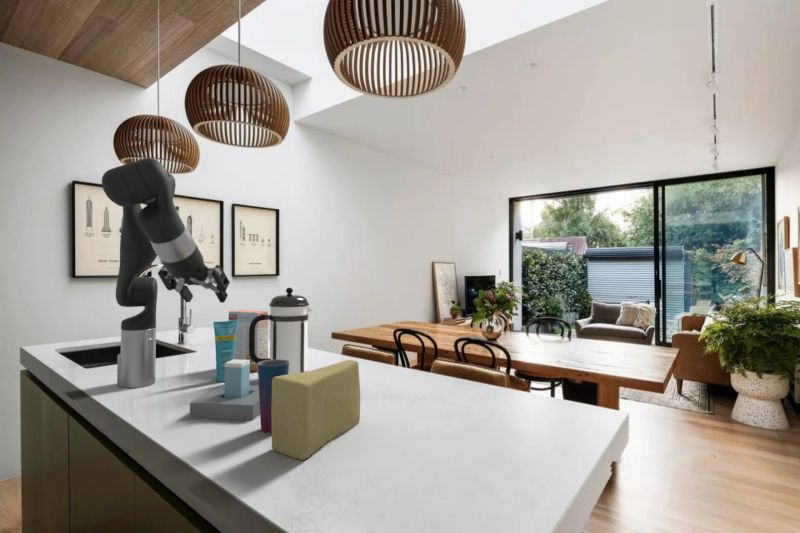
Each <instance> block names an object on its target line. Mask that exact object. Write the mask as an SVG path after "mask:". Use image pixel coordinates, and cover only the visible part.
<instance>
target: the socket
mask: <svg viewBox="0 0 800 533" xmlns="http://www.w3.org/2000/svg"><path fill="white" fill-rule="evenodd" d="M224 387H225V384H222V385H220V386H219V387H216V388H215V389H213V390H211V391H210V392H207V393H205V394H204V395H201V396H200V397H198V398H196V399H194V400H192V401H191V402H189V418H201V419H202V418H203V419H223V420H225V419H226V420H230V419H231V420H244V421H245V420H246V421H247V420H248V421H249V420H250V421H254V420H255V419H256V418H257V417H258V416H260V400H259V385H250V390H249V395H248V396H246V397H245V398H224ZM253 419H254V420H253Z"/></svg>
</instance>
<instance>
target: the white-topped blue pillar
mask: <svg viewBox="0 0 800 533" xmlns="http://www.w3.org/2000/svg"><path fill="white" fill-rule="evenodd" d="M250 372H251V371H250V360H238V359H233V360H231V361H229V362H226V363H225V382H224V385H225V387H224V398H245V397H246V396H248V395H249V390H250V386H251V384H250V383H251V382H250V377H251V376H250V374H251V373H250Z"/></svg>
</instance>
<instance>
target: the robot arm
mask: <svg viewBox="0 0 800 533" xmlns="http://www.w3.org/2000/svg"><path fill="white" fill-rule="evenodd" d="M101 187H102V190H103V192H104V194H105V195H106V197H107V198H108V199H109V200H110V201H111V202H112V203H114V204H116V205H117V206H119V207H122V222H121V224H122V225H121V231H120V239H119V240H120V241H119V268H118V274H117V275H118V276H117V281H116V286H115V300H116V303H117V304H118V305H119V306H120V307H123V308H138V307H143V308H144V309H143V310H142V311H141V312H140V313H137V314H136V315H133V316H130V317H127V318H125V319H123V320H122V321H121V322H120V353H118V354H117V356H116V357H117V358H116V359H117V365H116V366H117V367H116V368H117V369H116V371H117V372H116V373H117V374H116V377H117V379H116V386H118V387H121V388H124V389H125V388H126V389H131V388H141V387H142V388H143V387H146V386H150V385H153V384H155V383H156V361H157V360H156V359H157V358H156V356H157V355H156V354H157V353H156V351H157V347H156V346H157V342H156V341H157V338H156V337H157V304H158V303H157V300H158V291H159V289H158V288H159V287H158V281H157V279H156V278H155V277H153V276H152V277H151V276H137V275H139V274H140V273H141V272H142V271H144V270H145V269H147V268H148V267H149V266H150V265H151V264H153V262H155V260H156V259H157V257H158V258H159V261H160V262H161V263H162V264H163V265H162V266H161V268H160V269H159V270H158V272H157V274H158V276H159V278H160V280H161V281H162V283H163V285H164V287H165V288H166V290H167V291H173V290H174V291H175V292H177V293H178V294H179V296H180V297H181V298H182V300H184V302H186V303H190V302H191V301H192V299H193V298H194V296H193V293H192V292H191V290H190V288H189V286H194V285H195V286H201V287H203V288H204V289H205V290H208V289H210V290H211V291H213V292H214V294H215V296H216V297H217V299H218V300H219V303H223V304H224V303H225V302H226V301H227V298H228V295H229V294H228V293H227V289H228V287H229V285H230V283H231V282H230V280H229V278H228V276H227V275H226V273H225V271H224V269H223V268H222V266H220V265H219V264H216V265H215V266H214V267H209V266H207V265H206V264H205V261H204V257H203V256H204V255H203V254H202V252H201V251H200V249H199V246H198V245H197V243H196V242H195V239H194V238H193V236H192V234H191V233H190V231H189V230H188V229H187V227H186V226H185V224H184V222H183V220H182V218H181V217H180V215H179V213H178V211H177V208H176V206H175V204H174V197H175V194H176V193H175V192H176V179H175V177H174V176H173V175H172V174H171V173H170V172H168V171H167V169H166V167H165V166H164V165H163V164H162V163H161V162H160V161H158V160H156V159H155V158H152V157H146V158H141V159H139V160H136V161H132V162H129V163H126V164H123V165H119V166H116V167H113V168H111V169H108V170H107V171H105V172H104V173H103V175H102V177H101ZM141 205H145V206H144V207H143V208H142V206H141ZM207 278H208V281H207ZM177 280H178V281H177ZM206 281H207V282H206ZM214 284H215V285H214Z"/></svg>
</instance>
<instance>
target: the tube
mask: <svg viewBox="0 0 800 533" xmlns="http://www.w3.org/2000/svg"><path fill="white" fill-rule="evenodd" d="M237 323H238V320H232V321H229V320H223V321H213V330H214V342H215V343H214V344H215V373H216V375H215V376H216V381H217V382H224V381H225V363H226V362H229V361H231V360H233V359H234V352H235V340H236V330H237ZM224 383H225V382H224Z"/></svg>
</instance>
